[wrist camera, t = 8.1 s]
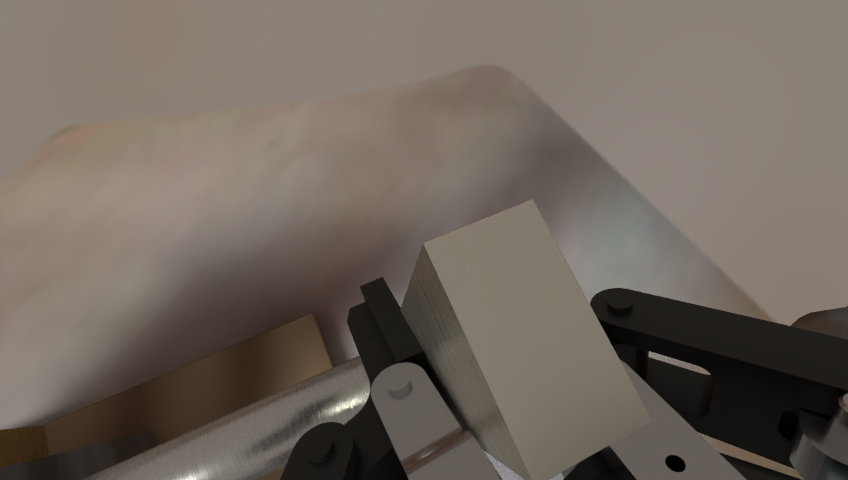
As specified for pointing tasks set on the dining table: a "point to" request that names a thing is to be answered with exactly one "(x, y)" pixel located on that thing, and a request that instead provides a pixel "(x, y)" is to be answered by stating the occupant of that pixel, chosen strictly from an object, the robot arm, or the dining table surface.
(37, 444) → the spacer
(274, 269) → the dining table surface
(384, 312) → the robot arm
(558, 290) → the shaft
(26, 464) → the stand
